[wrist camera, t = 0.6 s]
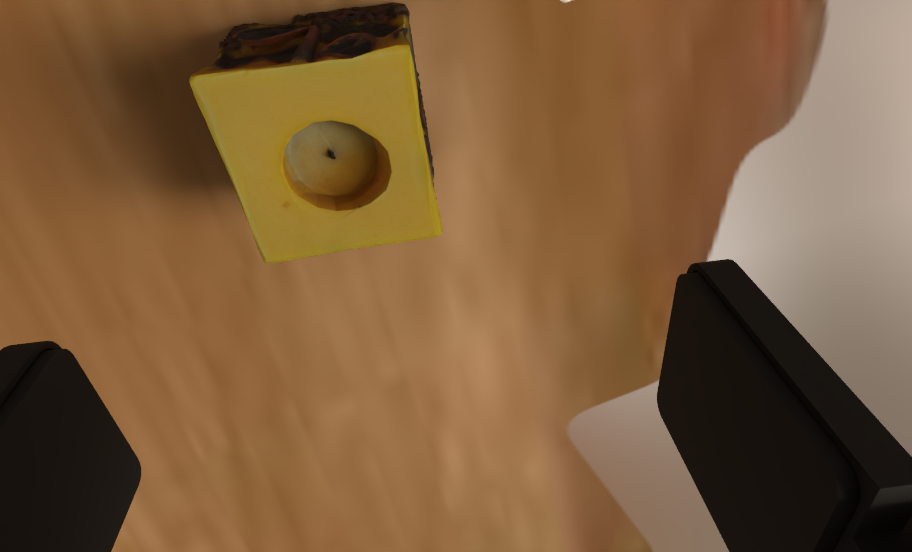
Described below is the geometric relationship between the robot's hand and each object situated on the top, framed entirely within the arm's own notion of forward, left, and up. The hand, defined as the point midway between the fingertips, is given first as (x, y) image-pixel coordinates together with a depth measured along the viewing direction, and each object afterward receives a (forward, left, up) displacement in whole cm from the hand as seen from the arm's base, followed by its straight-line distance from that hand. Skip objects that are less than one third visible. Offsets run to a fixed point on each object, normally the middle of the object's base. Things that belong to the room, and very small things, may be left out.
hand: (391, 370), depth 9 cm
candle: (+3, -5, -29) cm, 30 cm away
